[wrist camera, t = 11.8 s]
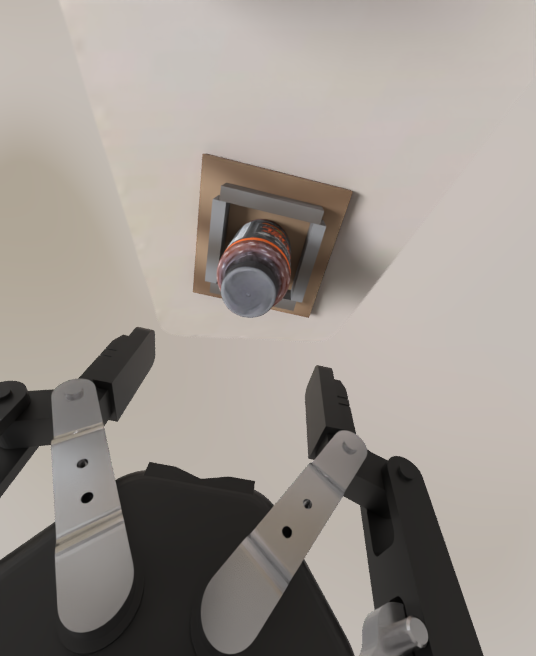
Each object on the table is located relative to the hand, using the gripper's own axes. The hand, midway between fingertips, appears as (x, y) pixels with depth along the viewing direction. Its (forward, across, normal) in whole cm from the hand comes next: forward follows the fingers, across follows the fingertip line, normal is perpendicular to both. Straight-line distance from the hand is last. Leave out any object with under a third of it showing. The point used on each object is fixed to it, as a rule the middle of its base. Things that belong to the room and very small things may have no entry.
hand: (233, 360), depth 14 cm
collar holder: (+20, 0, 0) cm, 20 cm away
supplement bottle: (+18, 0, 0) cm, 19 cm away
